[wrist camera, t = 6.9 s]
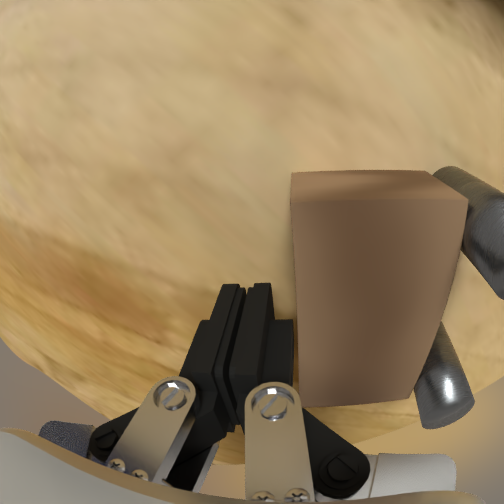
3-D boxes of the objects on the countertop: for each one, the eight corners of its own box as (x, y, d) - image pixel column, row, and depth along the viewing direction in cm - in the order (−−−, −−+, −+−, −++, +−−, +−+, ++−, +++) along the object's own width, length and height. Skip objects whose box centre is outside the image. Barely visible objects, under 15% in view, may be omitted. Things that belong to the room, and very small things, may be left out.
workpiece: (422, 169, 9) (468, 199, 6) (394, 344, 13) (408, 398, 10) (291, 171, 10) (289, 202, 7) (301, 350, 14) (299, 407, 11)
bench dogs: (475, 167, 8) (559, 218, 4) (434, 345, 13) (460, 422, 8) (425, 164, 9) (506, 217, 4) (395, 350, 13) (414, 433, 9)
